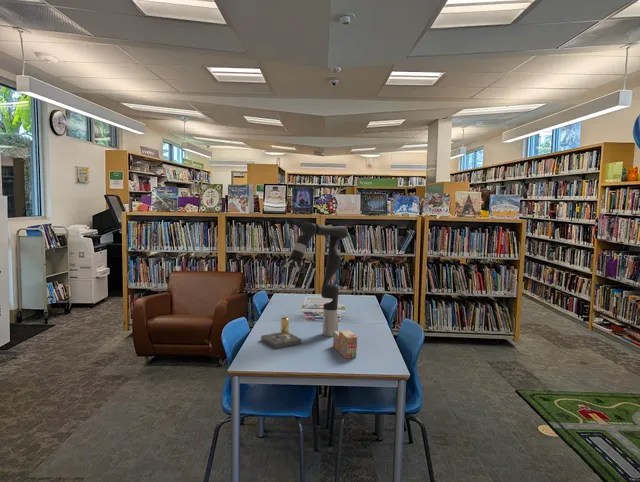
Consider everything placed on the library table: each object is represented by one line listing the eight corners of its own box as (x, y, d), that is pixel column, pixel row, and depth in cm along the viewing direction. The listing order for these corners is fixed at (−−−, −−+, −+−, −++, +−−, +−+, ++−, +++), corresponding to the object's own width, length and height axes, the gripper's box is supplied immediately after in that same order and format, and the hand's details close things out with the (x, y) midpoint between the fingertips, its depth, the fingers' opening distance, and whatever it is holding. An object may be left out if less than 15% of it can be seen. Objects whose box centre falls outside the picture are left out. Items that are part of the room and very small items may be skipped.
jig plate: (286, 335, 263) (286, 331, 262) (301, 343, 248) (301, 339, 248) (261, 340, 252) (261, 335, 252) (275, 349, 238) (275, 344, 237)
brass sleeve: (286, 331, 271) (286, 316, 270) (289, 333, 267) (290, 318, 266) (279, 332, 268) (279, 317, 268) (283, 334, 264) (283, 319, 264)
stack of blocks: (332, 346, 246) (333, 326, 245) (342, 345, 248) (343, 325, 247) (346, 359, 226) (347, 337, 225) (356, 358, 228) (357, 336, 227)
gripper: (310, 256, 256) (300, 280, 252) (289, 250, 260) (280, 273, 256) (308, 253, 249) (298, 277, 245) (286, 246, 253) (277, 270, 249)
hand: (289, 275), depth 250 cm, fingers open, 8 cm apart
